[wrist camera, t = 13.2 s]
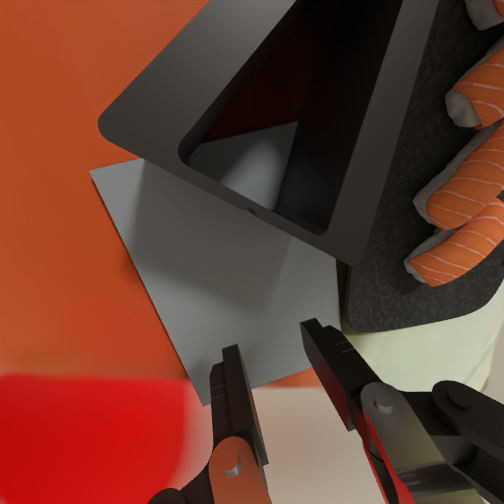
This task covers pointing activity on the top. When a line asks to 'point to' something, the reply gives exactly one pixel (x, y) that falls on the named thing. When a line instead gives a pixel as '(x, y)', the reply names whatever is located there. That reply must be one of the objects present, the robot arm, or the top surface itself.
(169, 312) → the mat
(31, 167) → the top surface
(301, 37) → the top surface
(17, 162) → the top surface
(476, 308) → the sushi plate
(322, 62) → the phone stand
